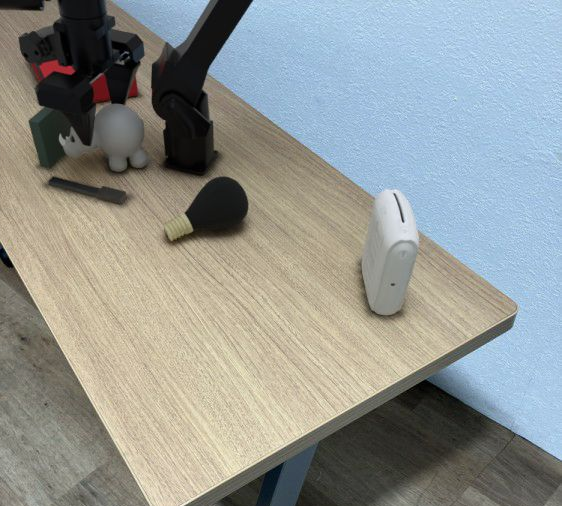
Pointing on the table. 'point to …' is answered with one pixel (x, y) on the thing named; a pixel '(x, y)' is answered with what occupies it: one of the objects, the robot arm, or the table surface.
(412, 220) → the photo printer
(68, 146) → the chubby cartoon animal
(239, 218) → the light bulb
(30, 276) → the table surface
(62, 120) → the backboard
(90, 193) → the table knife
